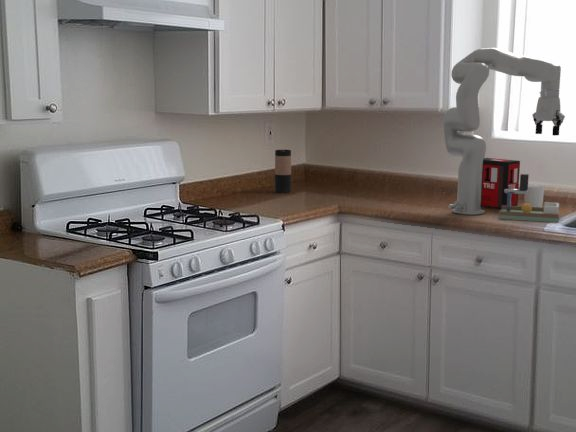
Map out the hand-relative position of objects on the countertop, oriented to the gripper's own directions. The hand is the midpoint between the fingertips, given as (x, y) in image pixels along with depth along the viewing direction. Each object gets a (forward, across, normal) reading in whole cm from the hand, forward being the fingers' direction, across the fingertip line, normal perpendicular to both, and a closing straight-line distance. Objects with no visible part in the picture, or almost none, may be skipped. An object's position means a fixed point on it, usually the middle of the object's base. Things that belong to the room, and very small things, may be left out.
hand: (547, 134), depth 339 cm
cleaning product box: (+31, -6, -22) cm, 38 cm away
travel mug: (+31, -83, -84) cm, 122 cm away
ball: (+27, +20, -29) cm, 44 cm away
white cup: (+31, +8, -13) cm, 34 cm away
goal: (+29, +26, -22) cm, 45 cm away
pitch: (+31, +20, -28) cm, 46 cm away
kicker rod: (+29, +17, -32) cm, 46 cm away
